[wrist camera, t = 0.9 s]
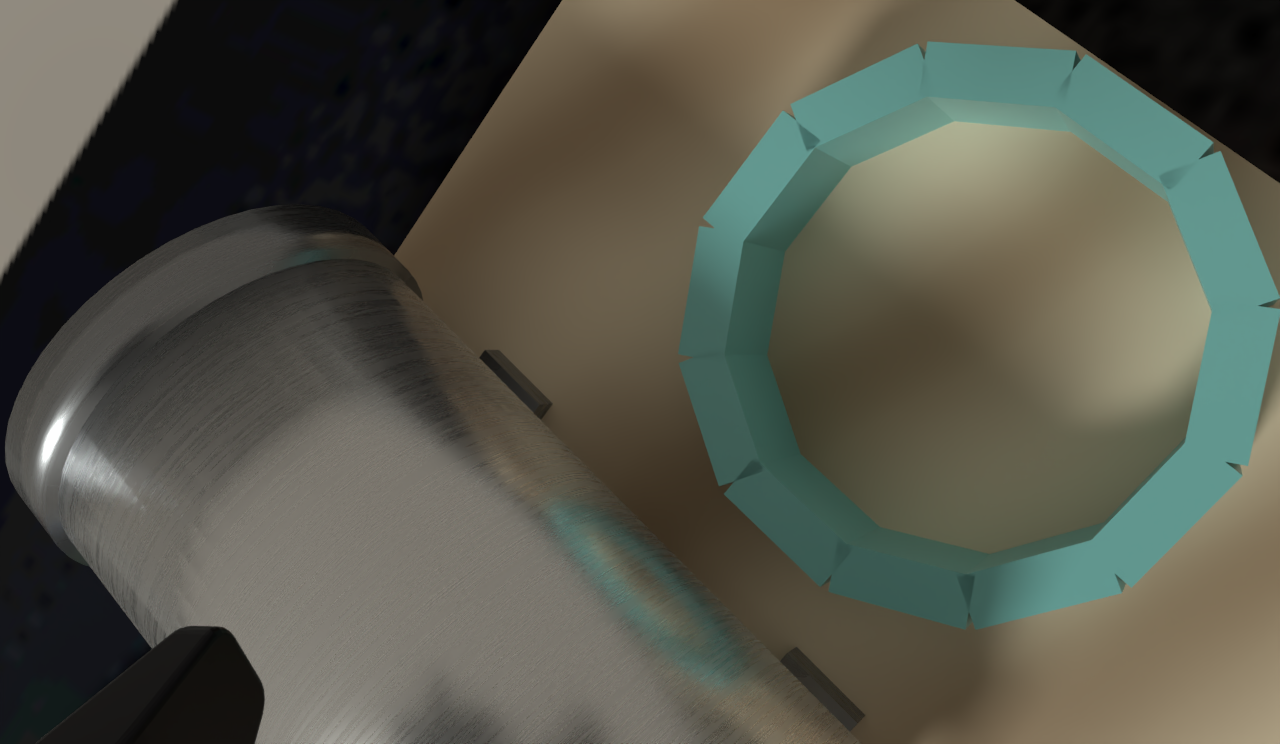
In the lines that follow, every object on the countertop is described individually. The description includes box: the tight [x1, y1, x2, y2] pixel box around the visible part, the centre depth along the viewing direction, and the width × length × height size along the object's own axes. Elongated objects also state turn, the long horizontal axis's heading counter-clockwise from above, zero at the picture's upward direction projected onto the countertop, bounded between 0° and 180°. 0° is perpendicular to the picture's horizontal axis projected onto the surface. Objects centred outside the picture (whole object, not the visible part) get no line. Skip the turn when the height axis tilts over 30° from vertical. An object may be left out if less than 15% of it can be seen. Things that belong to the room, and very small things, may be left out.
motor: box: [5, 204, 865, 744], centre depth 19 cm, size 14×7×8 cm, turn 50°
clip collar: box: [678, 41, 1280, 630], centre depth 18 cm, size 8×8×2 cm
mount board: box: [394, 0, 1280, 744], centre depth 21 cm, size 18×17×1 cm
